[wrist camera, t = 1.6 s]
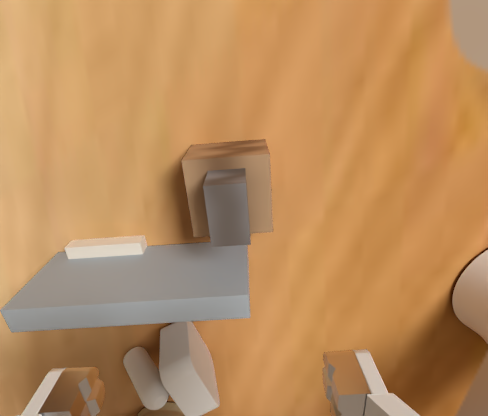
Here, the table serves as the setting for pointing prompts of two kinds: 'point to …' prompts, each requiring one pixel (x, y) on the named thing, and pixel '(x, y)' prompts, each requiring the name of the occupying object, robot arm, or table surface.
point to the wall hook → (175, 372)
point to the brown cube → (229, 190)
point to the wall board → (132, 285)
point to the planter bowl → (163, 411)
